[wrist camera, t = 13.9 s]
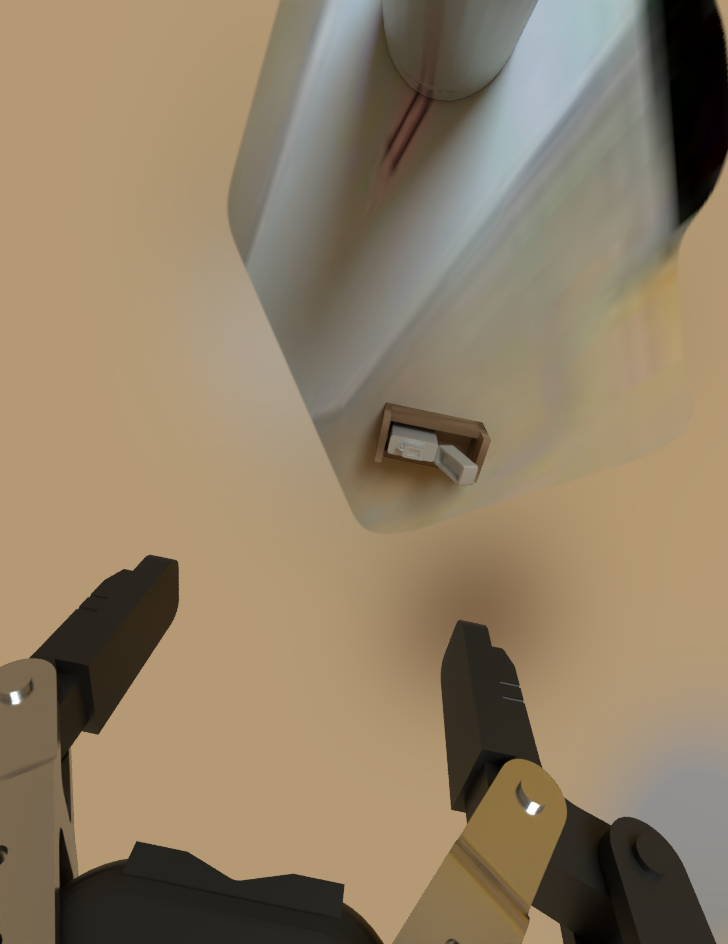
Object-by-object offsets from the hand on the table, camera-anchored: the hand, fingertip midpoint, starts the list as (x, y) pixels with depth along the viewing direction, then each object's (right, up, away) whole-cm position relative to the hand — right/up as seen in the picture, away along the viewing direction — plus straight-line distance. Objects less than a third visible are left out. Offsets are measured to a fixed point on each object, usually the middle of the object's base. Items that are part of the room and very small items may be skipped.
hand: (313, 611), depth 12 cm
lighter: (+7, +8, +29) cm, 31 cm away
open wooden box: (+8, +8, +29) cm, 31 cm away
